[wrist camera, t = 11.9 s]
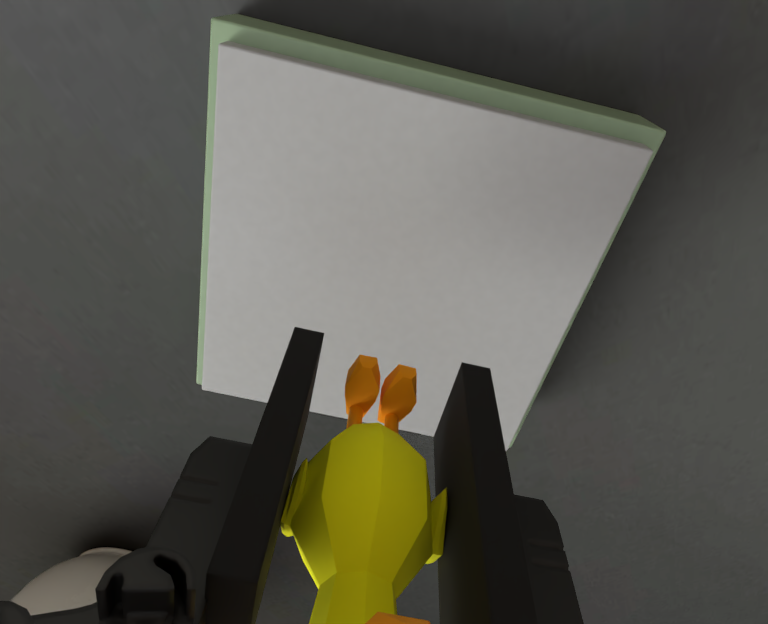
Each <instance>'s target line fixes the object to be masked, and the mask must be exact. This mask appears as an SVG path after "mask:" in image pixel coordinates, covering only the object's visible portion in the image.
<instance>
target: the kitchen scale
mask: <svg viewBox="0 0 768 624" xmlns="http://www.w3.org/2000/svg"><path fill="white" fill-rule="evenodd" d="M665 135H666V131H665V130H663V129H662V128H660V127H658V126H657V125H655V124H653V123H652V122H650V121H648V120H646V119H645V118H643V117H641V116H640V115H637V114H633V113H629V112H625V111H621V110H617V109H613V108H609V107H605V106H601V105H597V104H593V103H589V102H585V101H581V100H577V99H573V98H569V97H565V96H561V95H557V94H553V93H550V92H546V91H542V90H538V89H534V88H530V87H526V86H522V85H518V84H514V83H510V82H506V81H502V80H498V79H494V78H490V77H486V76H482V75H478V74H474V73H470V72H466V71H462V70H458V69H454V68H450V67H446V66H442V65H438V64H434V63H430V62H426V61H422V60H419V59H415V58H411V57H407V56H403V55H399V54H395V53H391V52H387V51H383V50H379V49H375V48H371V47H367V46H363V45H359V44H355V43H351V42H347V41H343V40H339V39H335V38H331V37H327V36H323V35H319V34H315V33H311V32H307V31H303V30H299V29H295V28H292V27H288V26H284V25H280V24H276V23H272V22H268V21H264V20H260V19H256V18H252V17H248V16H244V15H240V14H232V15H226V16H220V17H214V18H212V19H211V35H210V59H209V84H208V108H207V133H206V157H205V182H204V207H203V231H202V256H201V280H200V305H199V329H198V354H197V379H196V382H197V384H201V385H202V389H203V390H207V391H212V392H217V393H222V394H227V395H232V396H237V397H241V398H246V399H251V400H256V401H261V402H266V403H268V400H269V397H270V394H271V392H272V389H273V386H274V383H275V381H276V378H277V375H278V372H279V369H280V367H281V364H282V361H283V358H284V355H285V353H286V350H287V347H288V344H289V342H290V339H291V336H292V333H293V330H294V328H295V327H299V328H303V329H308V330H313V331H317V332H322V333H324V338H323V343H322V348H321V353H320V358H319V363H318V369H317V374H316V379H315V384H314V389H313V394H312V399H311V404H310V409H309V413H314V414H319V415H324V416H329V417H334V418H339V419H344V420H348V414H346V401H345V383H346V378H347V373H348V370H349V368H350V367H351V366H352V364H353V363H354V362H355V360H356V359H357V358H358V356H359V355H365V356H371V357H376V358H377V360H378V365H379V370H380V376H381V377H380V391H379V394H378V397H377V399H376V402H375V403H374V404H373V406H372V407H371V408H370V409H369V411H368V412H367V413H366V414H365V416H364V417H363V418H362V423H363V424H365V423H378V422H379V421H377V420H378V410H379V402H380V395H381V388H382V385H383V383H384V380H385V378H386V377H387V376H388V375H389V374H390V373H391V372H392V371H393V370H394V369H395V368H396V367H397V366H398V365H399V364H401V365H405V366H409V367H412V368H416V373H417V393H416V395H417V403H416V404H415V406H414V408H413V409H412V411H411V412H410V413H409V414H408V415H407V416H406V417H405V418H403V419H402V420H401V421H400V422H399V428H398V431H403V432H408V433H413V434H418V435H419V434H423V435H428V436H433V437H434V434H435V432H436V429H437V427H438V424H439V421H440V419H441V416H442V413H443V411H444V408H445V405H446V403H447V400H448V397H449V395H450V392H451V389H452V387H453V384H454V382H455V379H456V376H457V374H458V371H459V368H460V366H461V363H462V362H463V363H468V364H472V365H477V366H482V367H487V368H490V370H491V376H492V381H493V386H494V392H495V397H496V402H497V408H498V413H499V418H500V424H501V429H502V435H503V440H504V445H505V451H507V449H508V447H512V445H513V443H514V441H515V439H516V437H517V435H518V432H519V430H520V428H521V426H522V424H523V422H524V420H525V418H526V416H527V414H528V412H529V410H530V408H531V406H532V404H533V402H534V400H535V398H536V396H537V394H538V392H539V390H540V388H541V386H542V384H543V382H544V380H545V378H546V376H547V374H548V372H549V370H550V368H551V366H552V364H553V362H554V360H555V358H556V356H557V354H558V351H559V349H560V347H561V345H562V343H563V341H564V339H565V337H566V335H567V333H568V331H569V329H570V327H571V325H572V323H573V321H574V319H575V317H576V315H577V313H578V311H579V309H580V307H581V305H582V303H583V301H584V299H585V297H586V295H587V293H588V291H589V289H590V287H591V285H592V283H593V281H594V279H595V277H596V275H597V272H598V270H599V268H600V266H601V264H602V262H603V260H604V258H605V256H606V254H607V252H608V250H609V248H610V246H611V244H612V242H613V240H614V238H615V236H616V234H617V232H618V230H619V228H620V226H621V224H622V222H623V220H624V218H625V216H626V214H627V212H628V210H629V208H630V206H631V204H632V202H633V200H634V198H635V196H636V194H637V191H638V189H639V187H640V185H641V183H642V181H643V179H644V177H645V175H646V173H647V171H648V169H649V167H650V165H651V163H652V161H653V159H654V157H655V155H656V153H657V151H658V149H659V147H660V145H661V143H662V141H663V139H664V137H665ZM379 423H380V424H382V425H384V423H381V422H379Z"/></svg>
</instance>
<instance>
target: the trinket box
mask: <svg viewBox="0 0 768 624" xmlns="http://www.w3.org/2000/svg"><path fill="white" fill-rule="evenodd" d="M130 552H132V551H129V550H125V549H120V548H111V547H101V548H94V549H91V550H88V551H86V552H83V553H82V554H81V555H80V556H79V557H76V558H72V559H69V560H66V561H64V562H61V563H59V564H57V565H55V566H53V567H51V568H49V569H48V570H46V571H44V572H42V573H41V574H40V575H38V576H37V577H36V578H35V579H33V580H32V581H31V582H30V583H28V584H27V585H26V586H24V587H23V588H22V589H21V590H20V591H19V592H18V593H17V594H16V595H15V596H14V597H13V598H12V599H11V600H10V601H12V602H14V603H16V604H18V605H20V606H22V607H24V608H26V609H27V610H28V612H29V613H30V615H37V614H43V613H50V612H56V611H63V610H69V609H75V608H79V607H83V606H87V605H91V604H93V603H95V602H97V599H96V591H95V589H96V587H97V585H98V583H99V581H100V580H101V578H102V576H103V574H104V572H105V571H106V570H107V569H108V568H109V567H110V566H111V565H113V564H114V563H115V562H116V561H117V560H118V559H119V558H120V557H122V556H124V555H126V554H128V553H130Z"/></svg>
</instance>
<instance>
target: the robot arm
mask: <svg viewBox="0 0 768 624" xmlns="http://www.w3.org/2000/svg"><path fill="white" fill-rule="evenodd" d="M323 338H324V333H322V332H317V331H313V330H308V329H303V328H299V327H295V328H294V330H293V333H292V336H291V339H290V342H289V344H288V347H287V350H286V353H285V355H284V358H283V361H282V364H281V367H280V369H279V372H278V375H277V378H276V381H275V383H274V386H273V389H272V392H271V394H270V397H269V400H268V403H267V406H266V408H265V411H264V414H263V417H262V420H261V422H260V425H259V428H258V431H257V433H256V436H255V439H254V442H253V445H252V444H247V443H242V442H237V441H232V440H226V439H221V438H216V437H211V436H210V437H209V438H208V439H207V440H205V441H204V442H203V443H202V444H201V445H200V446H199V447H198V448H196V449H195V450H194V451H193V452H192V453H191V454H190V456H189V459H188V461H187V463H186V465H185V467H184V469H183V471H182V473H181V475H180V479H178V481H177V483H176V485H175V488H174V490H173V492H172V495H171V497H170V498H169V500H168V502H167V504H166V506H165V508H164V510H163V512H162V514H161V516H160V519H159V521H158V523H157V525H156V527H155V529H154V531H153V533H152V535H151V537H150V539H149V541H148V543H147V545H146V548H139V549H137V550H135V551H133V552H130V553H128V554H126V555H124V556H122V557H120V558H119V559H118V560H117V561H116V562H115V563H114V564H113V565H111V566H110V567H109V568H108V569H107V570H106V571H105V572H104V574H103V576H102V578H101V580H100V581H99V583H98V585H97V587H96V589H95V591H96V599H97V602H95V603H93V604H91V605H87V606H83V607H79V608H75V609H69V610H63V611H56V612H50V613H43V614H37V615H30V613H29V612H28V610H27V609H26V608H24V607H22V606H20V605H18V604H16V603H14V602H12V601H0V624H255V622H256V618H257V614H258V610H259V607H260V603H261V599H262V595H263V591H264V587H265V583H266V579H267V575H268V571H269V567H270V563H271V559H272V555H273V551H274V548H275V544H276V540H277V536H278V532H279V528H280V522H281V518H282V514H283V510H284V506H285V502H286V499H287V496H288V493H289V489H290V485H291V481H292V477H293V473H294V469H295V465H296V461H297V457H298V453H299V449H300V445H301V441H302V437H303V434H304V430H305V426H306V422H307V418H308V414H309V409H310V404H311V399H312V394H313V389H314V384H315V379H316V374H317V369H318V363H319V358H320V353H321V348H322V343H323ZM434 461H435V491H436V497H437V496H438V495H439V494H440V493H441V492H442V491H443V490H444V489H445V488H446V487H447V516H446V524H445V536H444V547H443V554H442V556H440V557H439V558H438V580H439V610H440V624H584V623H583V619H582V616H581V612H580V608H579V604H578V600H577V596H576V592H575V588H574V585H573V581H572V577H571V573H570V571H568V567H569V565H568V561H567V557H566V554H565V551H563V547H564V546H563V542H562V538H561V534H560V530H559V526H558V523H557V521H556V520H555V518H554V516H553V515H552V513H551V512H550V510H549V509H548V507H547V506H546V504H545V503H544V501H543V500H539V499H534V498H529V497H524V496H519V495H514V494H513V488H512V483H511V477H510V472H509V467H508V461H507V456H506V451H505V445H504V440H503V435H502V429H501V424H500V418H499V413H498V408H497V402H496V397H495V392H494V386H493V381H492V376H491V370H490V368H487V367H482V366H477V365H472V364H468V363H463V362H462V363H461V366H460V368H459V371H458V374H457V376H456V379H455V382H454V384H453V387H452V389H451V392H450V395H449V397H448V400H447V403H446V405H445V408H444V411H443V413H442V416H441V419H440V421H439V424H438V427H437V429H436V432H435V434H434Z"/></svg>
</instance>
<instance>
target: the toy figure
mask: <svg viewBox="0 0 768 624" xmlns="http://www.w3.org/2000/svg"><path fill="white" fill-rule="evenodd" d="M380 377H381V376H380V370H379V365H378V360H377V358H376V357H371V356H365V355H359V356H358V358H357V359H356V360H355V362H354V363H353V364H352V366H351V367H350V368H349V370H348V373H347V378H346V383H345V401H346V414H348V421H347V428H346V430H344V431H343V432H341V433H340V434H339V435H337V436H336V437H334V438H333V439H332V440H330V441H329V442H328V443H327V444H326V445H325V446H324V447H323V448H322V449H321V450H320V451H319V452H318V453H317V454H316V455H315V456H314V457H313V458H312V459H311V460H310V461H309V462H307V458H306V459H305V460H304V461H303V462H302V464H301V466H300V467H299V469H298V471H297V472H296V474H295V476H294V478H293V481H292V484H291V487H290V490H289V493H288V496H287V499H286V502H285V506H284V510H283V514H282V518H281V522H280V525H281V530H282V533H283V534H284V535H286V536H287V537H289V536H293V535H294V538H295V541H296V543H297V546H298V549H299V552H300V554H301V557H302V560H303V562H304V564H305V565H306V567H307V569H308V571H309V573H310V575H311V577H312V578H313V580H314V582H315V584H316V586H317V588H318V593H317V596H316V600H315V604H314V607H313V611H312V614H311V618H310V622H309V624H431V623H430V622H429V621H426V620H421V619H416V618H410V617H405V616H399V615H397V607H396V599H397V598H398V596H399V595H400V594H401V593H402V591H403V590H404V589H405V588H406V587H407V585H408V584H409V583H410V582H411V580H412V579H413V578H414V577H415V575H416V574H417V573H418V572H419V571H420V569H421V568H422V567H423V566H424V564H425V563H426V564H429V563H433V562H434V561H435V560H437V559H438V558H439V557H440V556H442V554H443V547H444V536H445V524H446V516H447V487H446V488H445V489H444V490H443V491H442V492H441V493H440V494H439V495H438V496H437V497H436V498H435V499H434V500H433V501H432V502H431V497H430V488H429V481H428V474H427V467H426V460H425V459H424V458H423V457H422V456H421V455H420V454H419V453H418V452H417V451H416V450H415V449H414V448H413V447H412V446H411V445H410V444H408V443H407V442H406V441H405V440H404V439H403V438H402V437H401V436H400V435H399V434H398V428H399V422H400V421H401V420H402V419H403V418H405V417H406V416H407V415H408V414H409V413H410V412H411V411H412V409H413V408H414V406H415V404H416V403H417V395H416V393H417V373H416V368H412V367H409V366H405V365H401V364H399V365H398V366H397V367H396V368H395V369H394V370H393V371H392V372H391V373H390V374H389V375H388V376H387V377H386V378H385V380H384V383H383V385H382V388H381V395H380V402H379V410H378V420H377V421H379V422H381V423H384V425H382V424H380V423H379V422H378V423H365V424H362V418H363V417H364V416H365V414H366V413H367V412H368V411H369V409H370V408H371V407H372V406H373V404H374V403H375V402H376V399H377V397H378V394H379V391H380Z"/></svg>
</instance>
